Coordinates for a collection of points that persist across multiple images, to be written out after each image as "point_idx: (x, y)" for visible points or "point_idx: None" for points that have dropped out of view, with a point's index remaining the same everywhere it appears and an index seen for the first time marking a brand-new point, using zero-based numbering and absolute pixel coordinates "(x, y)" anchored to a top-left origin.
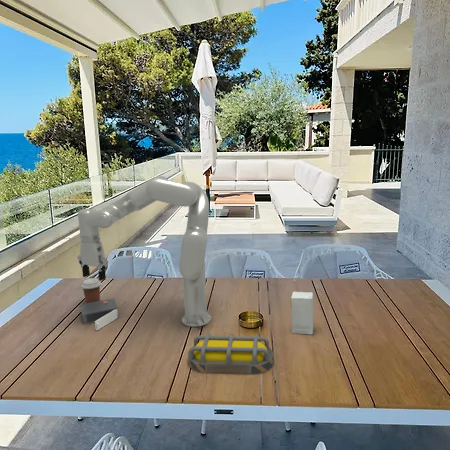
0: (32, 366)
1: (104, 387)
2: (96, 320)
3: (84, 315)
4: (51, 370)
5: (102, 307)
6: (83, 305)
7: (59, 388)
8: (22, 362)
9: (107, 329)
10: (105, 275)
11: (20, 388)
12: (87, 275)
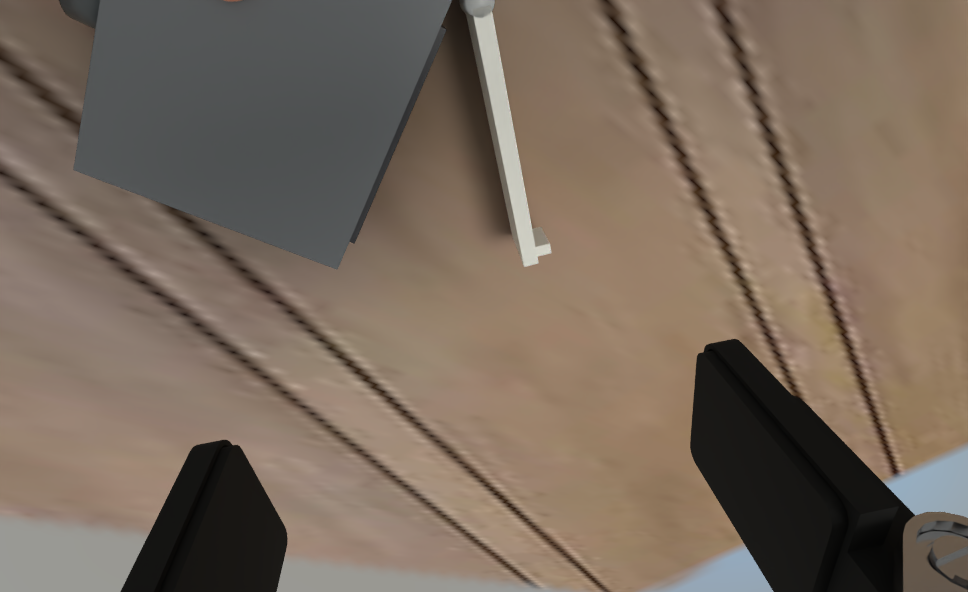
0: (552, 528)
1: (913, 435)
2: (524, 252)
3: (343, 254)
4: (644, 499)
5: (325, 71)
6: (122, 165)
7: None
8: (489, 541)
9: (565, 175)
10: (773, 379)
11: (641, 573)
12: (256, 487)
